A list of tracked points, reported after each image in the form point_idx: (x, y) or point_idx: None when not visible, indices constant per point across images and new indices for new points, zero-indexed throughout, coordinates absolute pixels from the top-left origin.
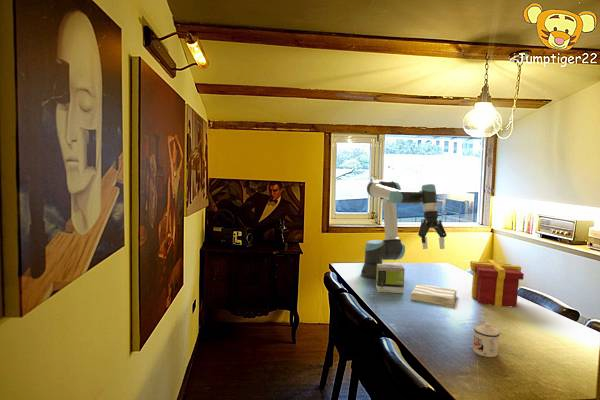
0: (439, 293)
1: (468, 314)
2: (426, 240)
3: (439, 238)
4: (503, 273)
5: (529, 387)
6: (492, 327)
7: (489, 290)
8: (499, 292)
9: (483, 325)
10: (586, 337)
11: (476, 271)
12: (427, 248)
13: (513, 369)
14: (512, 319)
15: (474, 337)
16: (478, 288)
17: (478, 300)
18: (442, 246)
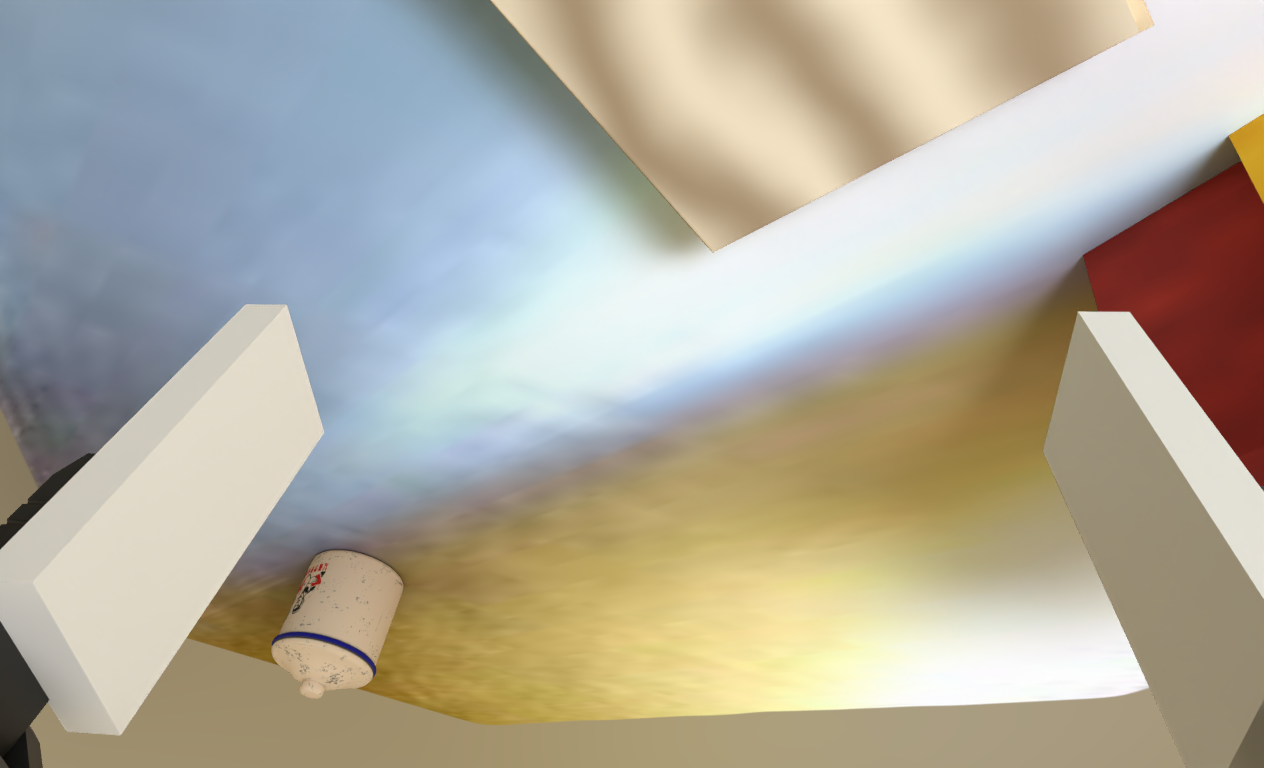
0: (724, 68)
1: (680, 357)
2: (179, 612)
3: (1252, 631)
4: None
5: None
6: (334, 689)
7: None
8: None
9: (303, 675)
10: (977, 690)
11: (1259, 471)
12: (314, 437)
13: None
14: (900, 505)
15: (291, 608)
16: (1193, 319)
17: (1115, 254)
18: (1073, 469)
